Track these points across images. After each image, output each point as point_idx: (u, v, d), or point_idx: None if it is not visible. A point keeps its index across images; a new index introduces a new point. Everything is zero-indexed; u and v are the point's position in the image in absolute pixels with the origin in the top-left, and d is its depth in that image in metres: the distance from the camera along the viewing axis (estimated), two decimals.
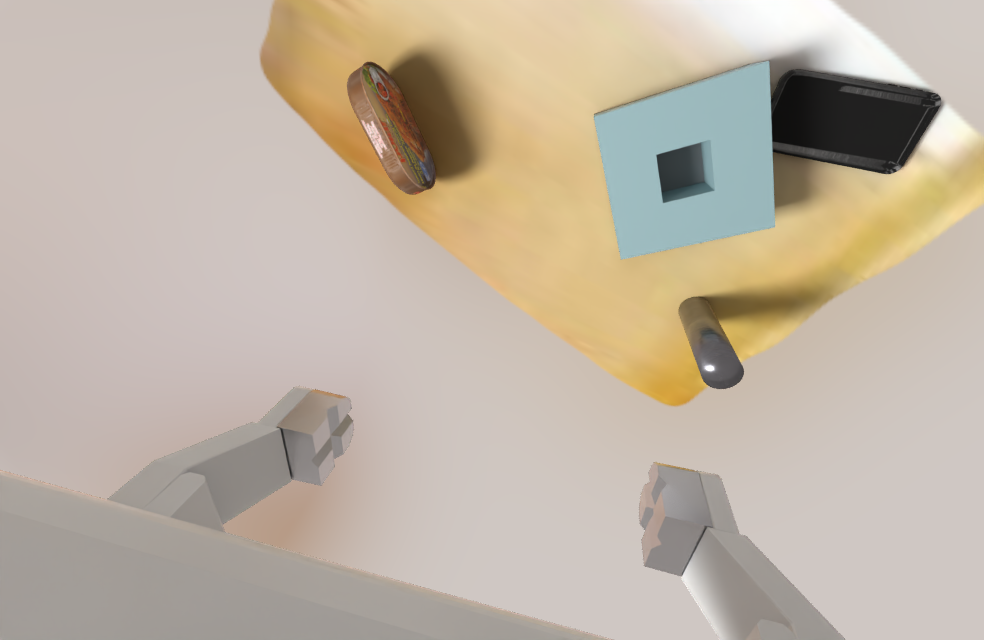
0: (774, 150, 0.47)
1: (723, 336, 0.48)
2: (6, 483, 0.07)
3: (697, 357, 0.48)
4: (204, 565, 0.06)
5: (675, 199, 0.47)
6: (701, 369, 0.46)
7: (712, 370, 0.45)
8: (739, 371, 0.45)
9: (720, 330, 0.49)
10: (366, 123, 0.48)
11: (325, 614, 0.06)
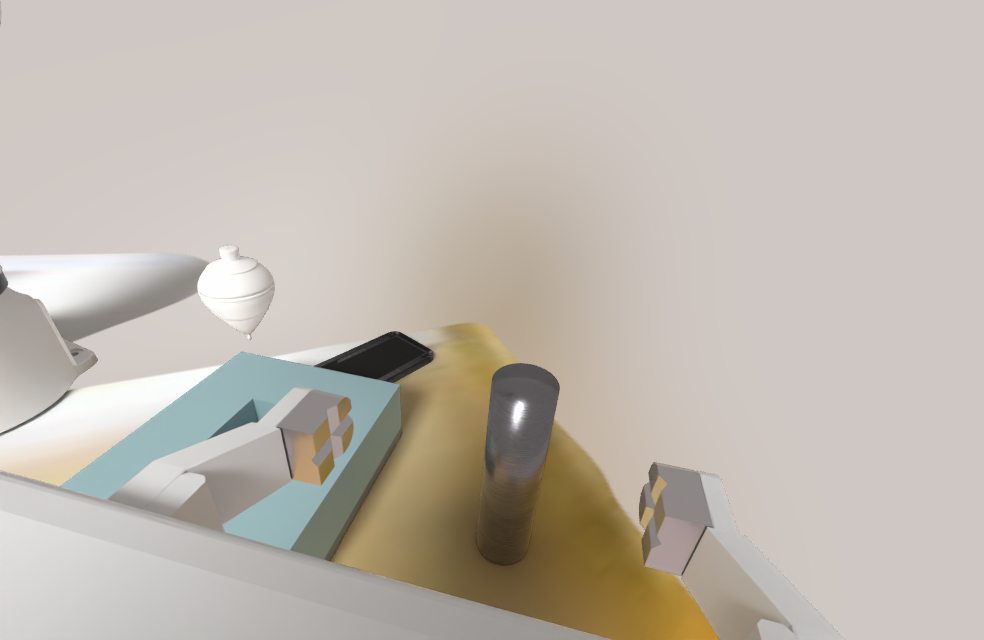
0: None
1: None
2: (7, 483, 0.07)
3: (504, 435, 0.25)
4: (204, 565, 0.06)
5: None
6: (510, 407, 0.24)
7: (513, 391, 0.25)
8: (529, 368, 0.27)
9: None
10: None
11: (325, 614, 0.06)
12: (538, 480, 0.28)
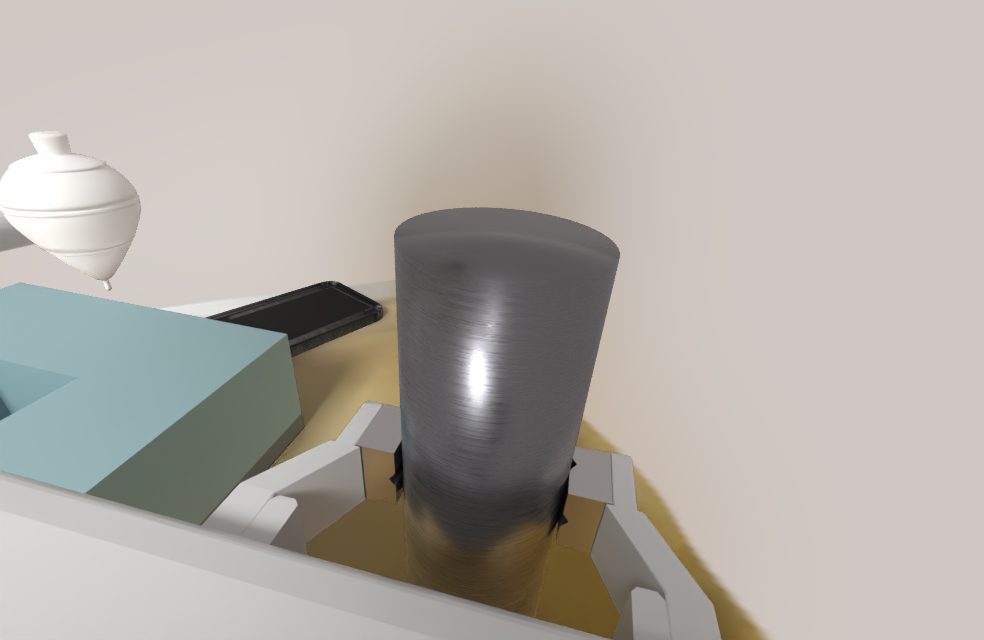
0: None
1: None
2: (7, 483, 0.07)
3: (436, 406, 0.07)
4: (204, 565, 0.06)
5: None
6: (444, 294, 0.06)
7: (462, 249, 0.07)
8: (522, 215, 0.09)
9: None
10: None
11: (325, 614, 0.06)
12: (548, 537, 0.10)
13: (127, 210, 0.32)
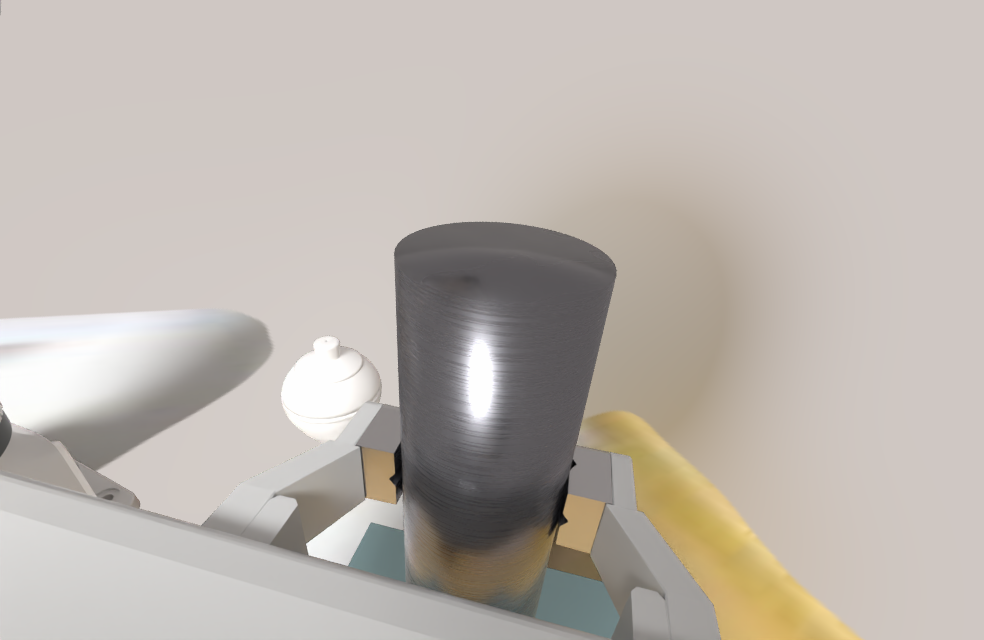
0: None
1: None
2: (6, 483, 0.07)
3: (436, 421, 0.08)
4: (204, 565, 0.06)
5: None
6: (444, 313, 0.06)
7: (462, 267, 0.07)
8: (520, 229, 0.09)
9: None
10: None
11: (325, 614, 0.06)
12: (546, 547, 0.10)
13: (379, 396, 0.35)
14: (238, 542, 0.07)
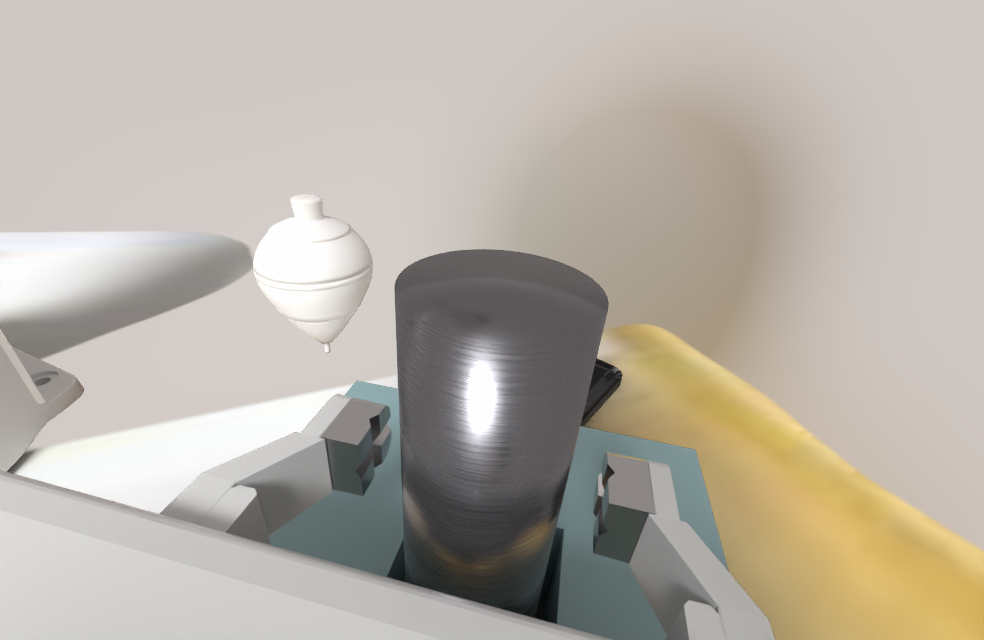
0: None
1: None
2: (6, 483, 0.07)
3: (435, 448, 0.08)
4: (204, 566, 0.06)
5: None
6: (442, 350, 0.07)
7: (459, 302, 0.07)
8: (516, 258, 0.10)
9: None
10: None
11: (325, 614, 0.06)
12: (542, 563, 0.10)
13: (370, 274, 0.30)
14: (238, 542, 0.07)
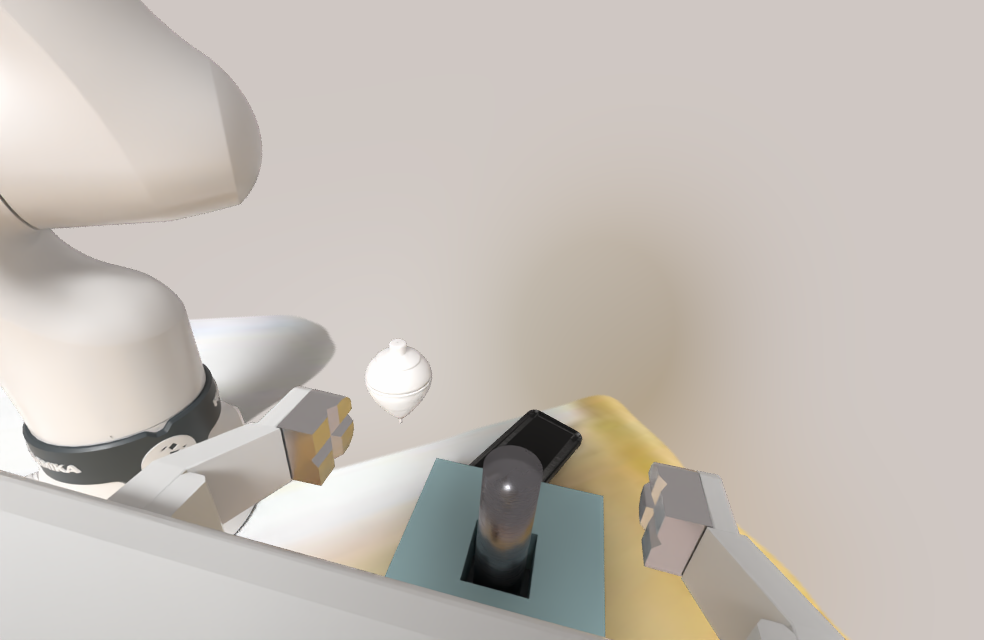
0: None
1: None
2: (6, 483, 0.07)
3: (494, 514, 0.28)
4: (204, 565, 0.06)
5: (531, 582, 0.32)
6: (498, 493, 0.27)
7: (502, 477, 0.28)
8: (517, 450, 0.30)
9: None
10: None
11: (325, 614, 0.06)
12: (526, 547, 0.31)
13: None
14: (238, 542, 0.07)
